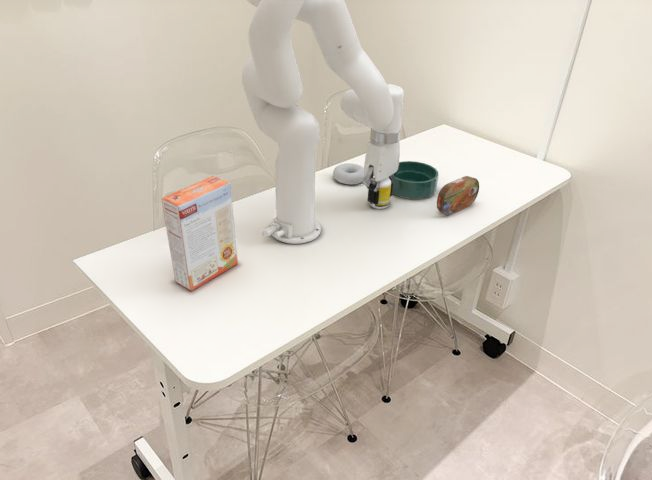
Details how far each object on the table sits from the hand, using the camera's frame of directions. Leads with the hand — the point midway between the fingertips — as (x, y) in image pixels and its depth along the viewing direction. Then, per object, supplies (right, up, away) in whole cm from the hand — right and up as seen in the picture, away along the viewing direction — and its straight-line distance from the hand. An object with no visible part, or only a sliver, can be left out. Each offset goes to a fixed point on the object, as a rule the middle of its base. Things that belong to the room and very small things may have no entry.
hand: (379, 198), depth 159 cm
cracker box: (-41, -20, -28) cm, 54 cm away
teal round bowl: (+10, +4, +9) cm, 14 cm away
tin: (+21, -3, 0) cm, 21 cm away
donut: (-8, +7, +14) cm, 18 cm away
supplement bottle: (0, -2, +1) cm, 2 cm away
